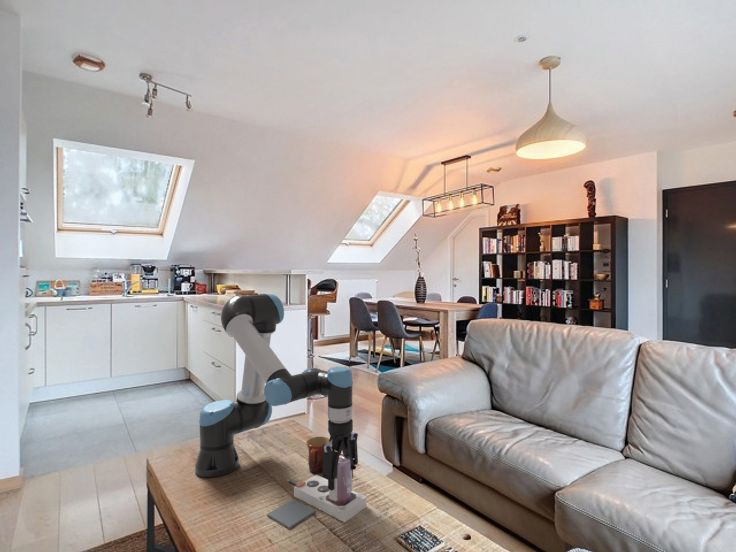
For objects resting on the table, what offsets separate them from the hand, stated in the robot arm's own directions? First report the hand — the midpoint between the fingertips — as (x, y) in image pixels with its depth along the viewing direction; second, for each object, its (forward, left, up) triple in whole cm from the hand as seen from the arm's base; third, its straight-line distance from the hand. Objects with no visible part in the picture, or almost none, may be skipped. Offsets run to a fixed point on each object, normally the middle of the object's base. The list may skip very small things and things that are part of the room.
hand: (341, 494), depth 124 cm
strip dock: (-9, 0, -4) cm, 10 cm away
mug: (-22, +11, -4) cm, 25 cm away
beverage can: (0, 0, -4) cm, 4 cm away
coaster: (-9, -12, -4) cm, 15 cm away
